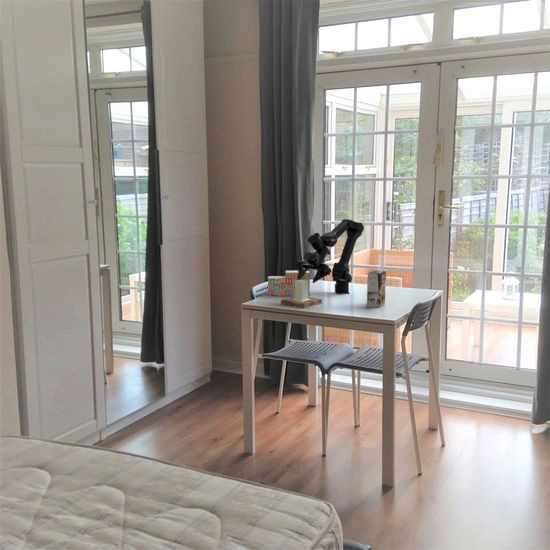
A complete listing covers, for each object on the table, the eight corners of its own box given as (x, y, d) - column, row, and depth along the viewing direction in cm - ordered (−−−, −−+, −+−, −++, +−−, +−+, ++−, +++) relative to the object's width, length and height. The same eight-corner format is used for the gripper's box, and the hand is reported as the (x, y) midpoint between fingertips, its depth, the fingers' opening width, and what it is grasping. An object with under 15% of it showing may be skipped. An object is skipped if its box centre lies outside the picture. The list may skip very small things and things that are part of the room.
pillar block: (300, 297, 297) (300, 279, 295) (308, 299, 294) (308, 280, 292) (294, 299, 293) (294, 280, 292) (302, 300, 290) (302, 281, 289)
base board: (299, 299, 304) (299, 295, 303) (321, 303, 295) (321, 298, 294) (280, 304, 293) (280, 299, 293) (303, 308, 284) (303, 303, 284)
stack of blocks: (267, 296, 313) (267, 272, 311) (268, 293, 319) (268, 270, 317) (309, 296, 312) (309, 272, 310) (309, 293, 318) (309, 270, 316)
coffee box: (379, 308, 284) (380, 273, 281) (366, 306, 287) (367, 272, 284) (385, 304, 292) (386, 270, 289) (372, 303, 295) (373, 269, 292)
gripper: (297, 244, 302) (282, 269, 295) (327, 247, 290) (313, 273, 283) (307, 258, 309) (293, 283, 303) (337, 261, 297) (323, 287, 290)
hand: (305, 281), depth 295 cm, fingers open, 9 cm apart
